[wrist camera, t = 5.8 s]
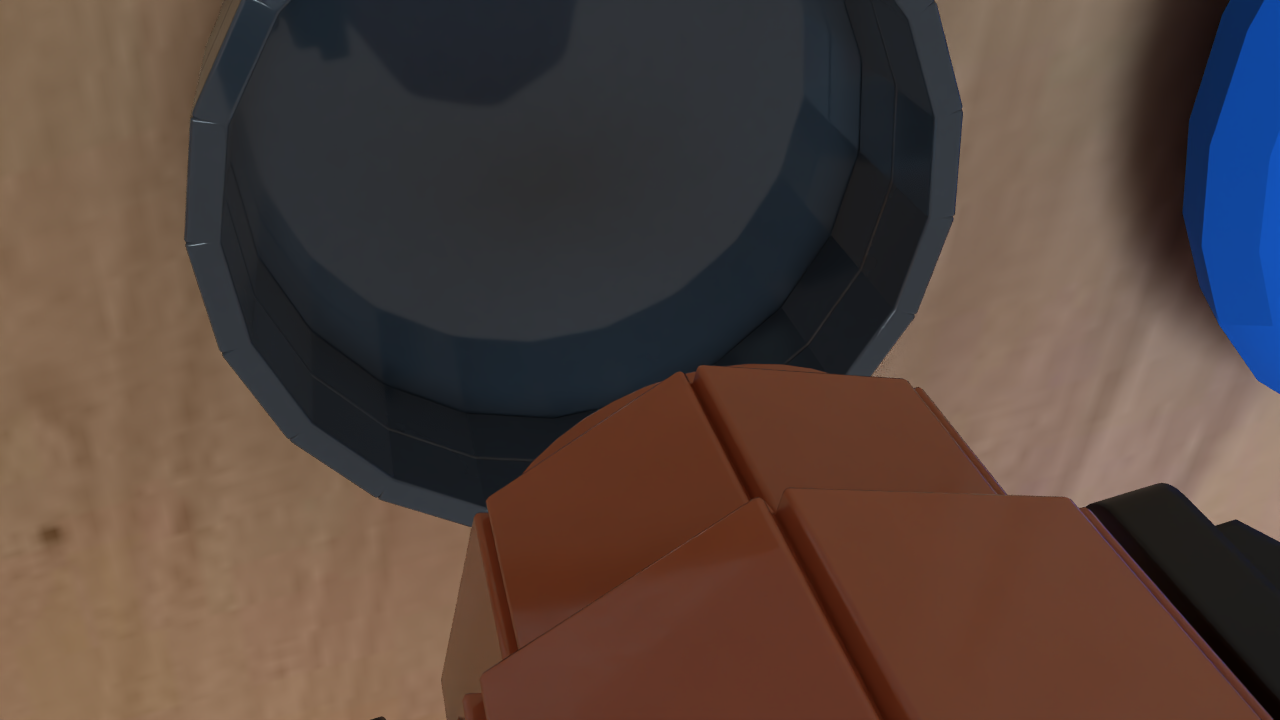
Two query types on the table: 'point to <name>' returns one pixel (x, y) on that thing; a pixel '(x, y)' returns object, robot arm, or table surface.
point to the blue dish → (1239, 183)
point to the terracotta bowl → (805, 574)
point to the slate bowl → (553, 211)
